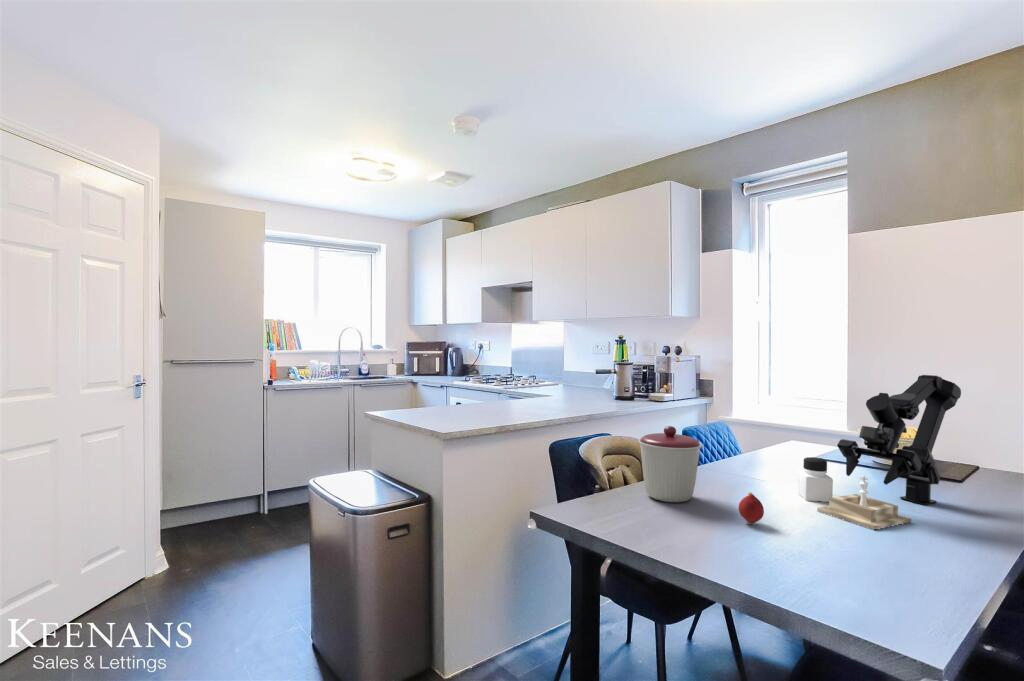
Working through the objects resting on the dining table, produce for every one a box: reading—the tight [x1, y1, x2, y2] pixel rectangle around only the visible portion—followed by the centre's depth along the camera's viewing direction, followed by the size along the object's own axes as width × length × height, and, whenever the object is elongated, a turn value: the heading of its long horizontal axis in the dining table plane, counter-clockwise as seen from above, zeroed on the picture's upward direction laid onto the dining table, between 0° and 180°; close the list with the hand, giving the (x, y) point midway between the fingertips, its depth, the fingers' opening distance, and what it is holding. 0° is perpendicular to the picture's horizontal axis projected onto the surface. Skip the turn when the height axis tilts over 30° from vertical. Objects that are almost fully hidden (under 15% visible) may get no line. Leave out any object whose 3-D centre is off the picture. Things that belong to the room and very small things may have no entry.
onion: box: [738, 491, 765, 525], centre depth 131 cm, size 6×6×8 cm
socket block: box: [816, 493, 912, 530], centre depth 138 cm, size 15×15×4 cm
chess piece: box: [858, 474, 869, 507], centre depth 138 cm, size 5×5×10 cm
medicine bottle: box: [797, 456, 834, 503], centre depth 154 cm, size 7×7×12 cm
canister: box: [638, 425, 703, 503], centre depth 152 cm, size 18×18×21 cm
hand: (865, 479), depth 138 cm, fingers open, 9 cm apart
